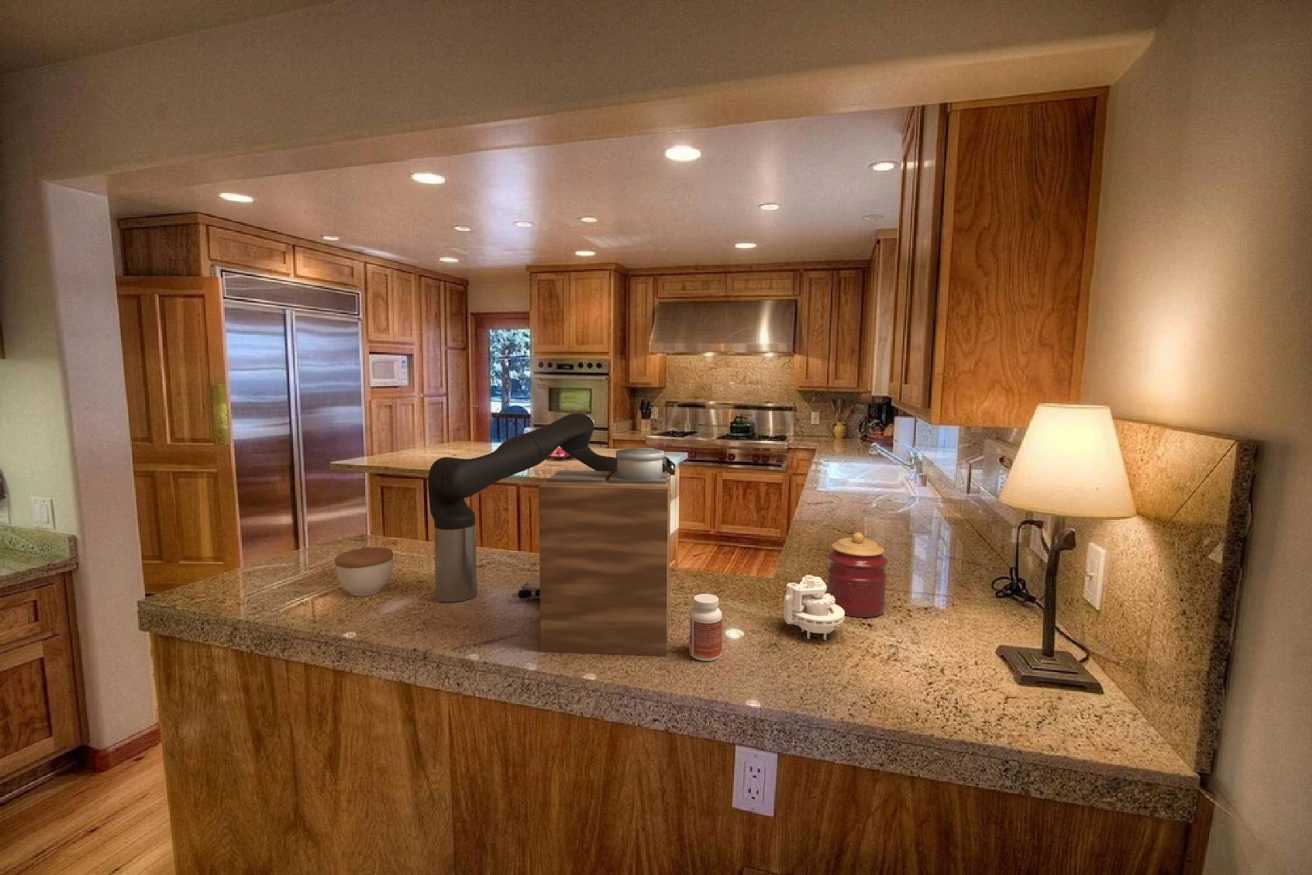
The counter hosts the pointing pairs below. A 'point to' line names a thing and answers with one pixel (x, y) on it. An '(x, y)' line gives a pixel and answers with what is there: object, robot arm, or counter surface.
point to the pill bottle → (705, 628)
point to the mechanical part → (811, 606)
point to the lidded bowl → (364, 570)
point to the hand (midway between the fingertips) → (644, 453)
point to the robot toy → (529, 590)
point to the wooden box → (604, 563)
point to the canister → (857, 576)
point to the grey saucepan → (639, 463)
